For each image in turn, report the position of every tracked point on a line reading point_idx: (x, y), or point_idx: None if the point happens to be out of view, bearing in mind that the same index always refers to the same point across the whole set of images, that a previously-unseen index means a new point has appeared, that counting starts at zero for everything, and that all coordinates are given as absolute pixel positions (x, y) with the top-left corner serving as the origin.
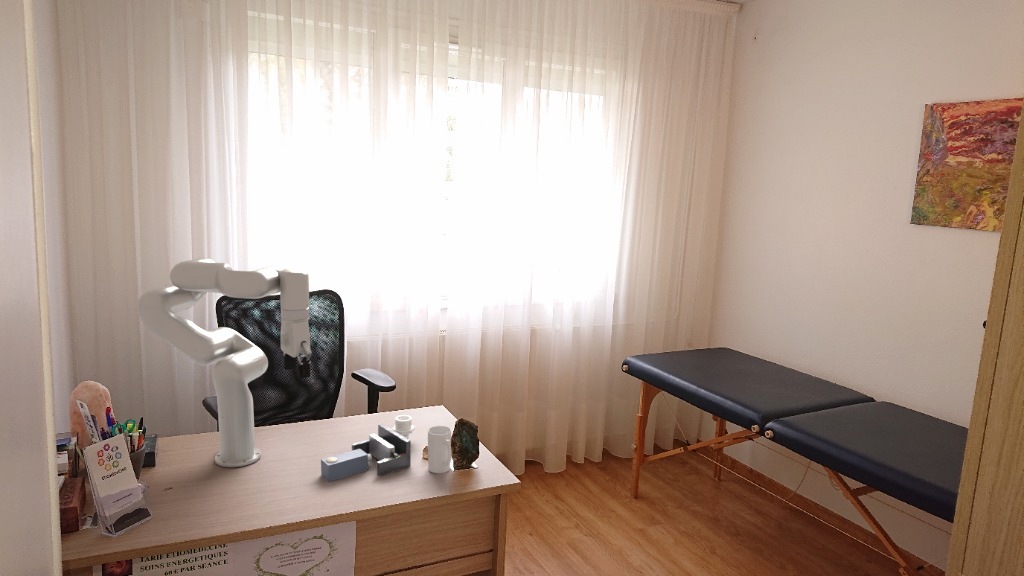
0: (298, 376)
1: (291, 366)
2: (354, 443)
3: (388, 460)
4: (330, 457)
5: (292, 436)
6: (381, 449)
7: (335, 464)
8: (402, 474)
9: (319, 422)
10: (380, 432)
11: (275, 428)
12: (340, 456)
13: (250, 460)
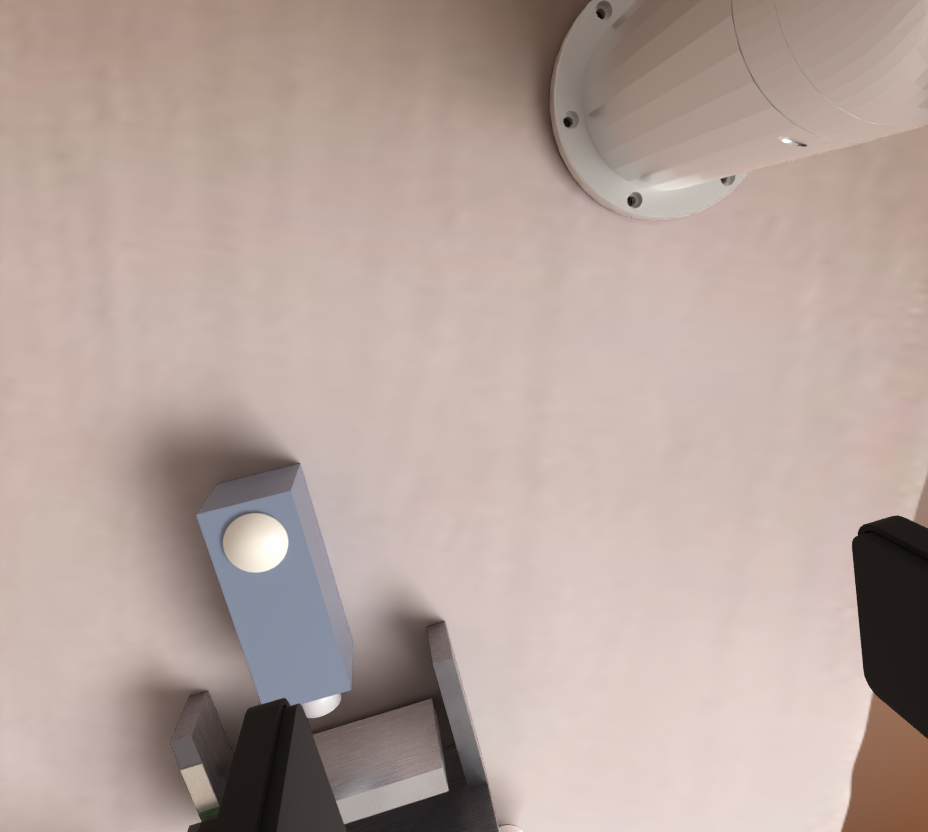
0: (276, 714)
1: (890, 646)
2: (454, 671)
3: (187, 786)
4: (288, 540)
5: (790, 400)
6: None
7: (210, 549)
8: (175, 787)
9: None
10: (470, 815)
11: (923, 336)
12: (291, 588)
13: (566, 151)
